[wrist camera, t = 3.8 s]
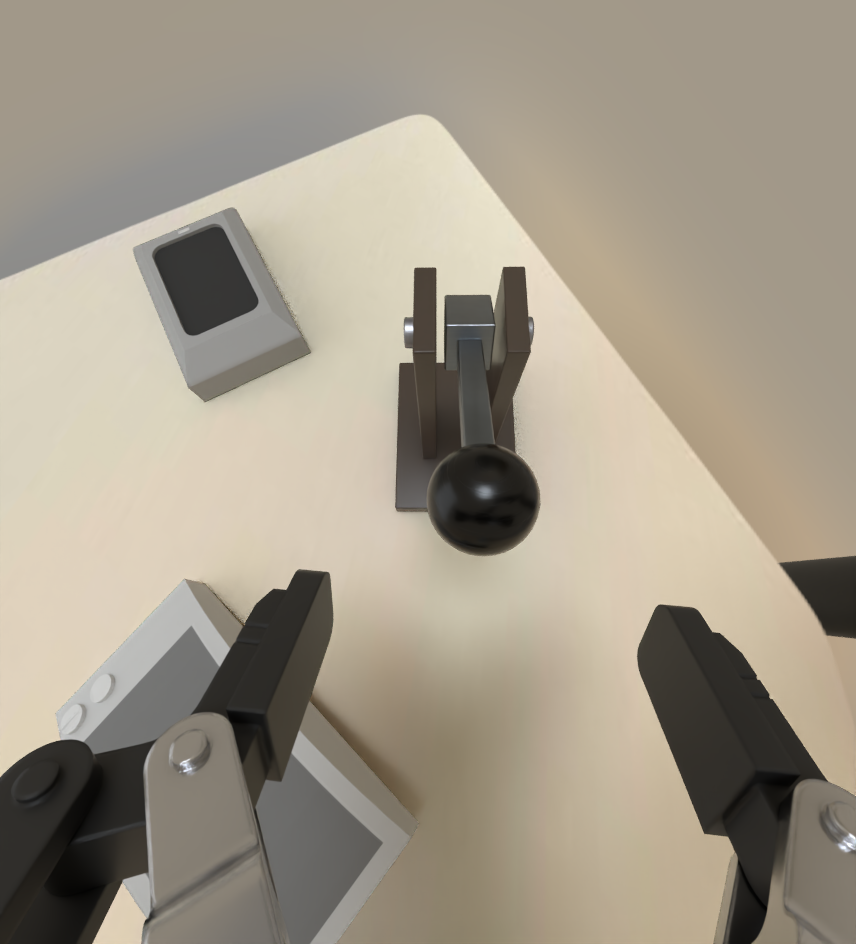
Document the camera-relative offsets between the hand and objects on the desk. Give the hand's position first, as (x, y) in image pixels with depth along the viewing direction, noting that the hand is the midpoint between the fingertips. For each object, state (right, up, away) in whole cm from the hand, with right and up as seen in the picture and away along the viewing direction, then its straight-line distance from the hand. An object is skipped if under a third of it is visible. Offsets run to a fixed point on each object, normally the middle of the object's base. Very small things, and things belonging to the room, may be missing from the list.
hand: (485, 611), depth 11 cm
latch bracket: (+1, +6, +23) cm, 24 cm away
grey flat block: (-19, +18, +27) cm, 38 cm away
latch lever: (0, +5, +8) cm, 9 cm away
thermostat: (-13, -15, +17) cm, 27 cm away
